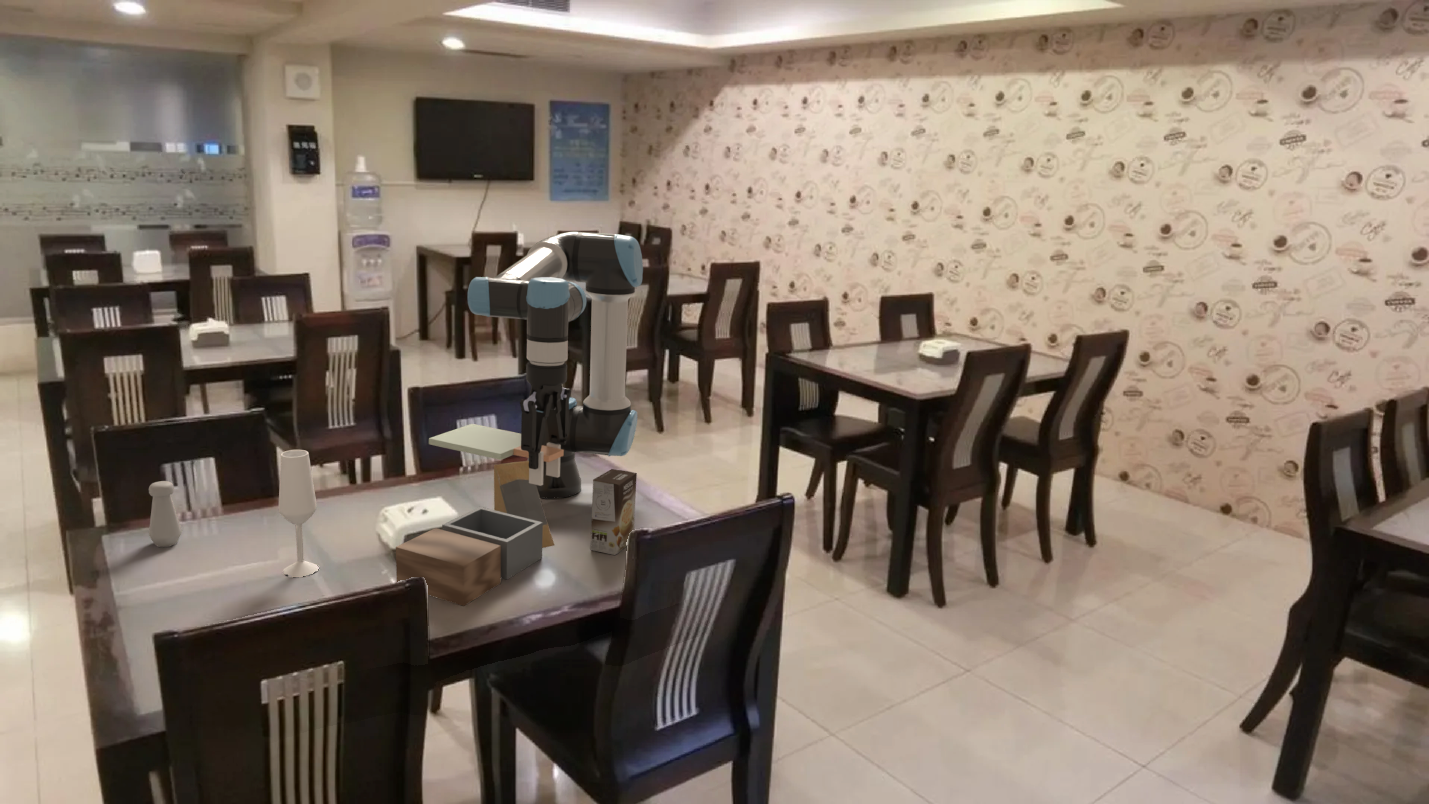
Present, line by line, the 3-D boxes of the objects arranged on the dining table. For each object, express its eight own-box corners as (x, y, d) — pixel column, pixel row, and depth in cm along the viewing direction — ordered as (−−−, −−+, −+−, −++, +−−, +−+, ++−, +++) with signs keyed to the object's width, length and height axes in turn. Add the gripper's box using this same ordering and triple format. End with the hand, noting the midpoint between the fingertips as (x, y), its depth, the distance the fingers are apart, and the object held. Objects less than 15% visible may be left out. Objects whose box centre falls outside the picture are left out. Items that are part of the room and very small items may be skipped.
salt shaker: (189, 541, 188) (184, 482, 185) (162, 551, 183) (156, 490, 180) (170, 535, 190) (164, 476, 187) (143, 544, 185) (137, 484, 182)
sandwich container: (518, 553, 193) (519, 486, 189) (492, 527, 205) (492, 464, 202) (556, 546, 198) (557, 480, 194) (528, 521, 210) (529, 459, 206)
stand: (435, 564, 185) (435, 528, 183) (500, 583, 179) (500, 545, 177) (396, 585, 175) (395, 546, 173) (463, 606, 169) (463, 566, 167)
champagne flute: (278, 567, 179) (271, 451, 173) (314, 560, 183) (308, 446, 177) (287, 580, 174) (279, 461, 168) (324, 572, 178) (318, 456, 172)
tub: (480, 541, 197) (480, 506, 195) (542, 558, 191) (542, 522, 189) (442, 561, 187) (442, 524, 185) (506, 579, 180) (507, 542, 178)
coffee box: (616, 556, 194) (619, 485, 190) (589, 550, 196) (591, 479, 192) (634, 540, 203) (637, 472, 199) (608, 535, 205) (610, 467, 201)
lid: (472, 429, 189) (471, 423, 189) (574, 450, 180) (574, 444, 179) (428, 444, 178) (428, 438, 177) (536, 467, 168) (536, 461, 168)
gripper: (557, 351, 180) (554, 464, 185) (500, 366, 164) (499, 489, 169) (589, 356, 177) (586, 471, 182) (535, 372, 161) (533, 497, 166)
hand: (544, 479), depth 176 cm, fingers closed on lid, 5 cm apart
